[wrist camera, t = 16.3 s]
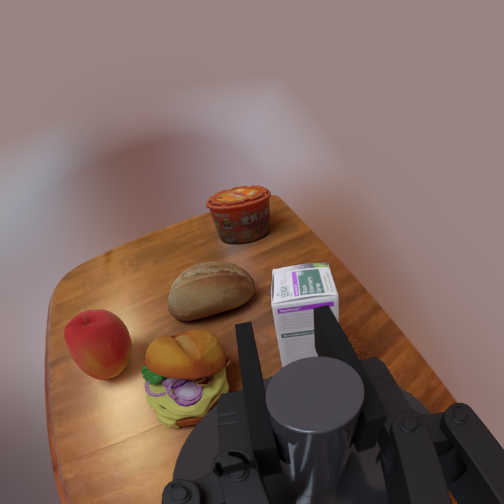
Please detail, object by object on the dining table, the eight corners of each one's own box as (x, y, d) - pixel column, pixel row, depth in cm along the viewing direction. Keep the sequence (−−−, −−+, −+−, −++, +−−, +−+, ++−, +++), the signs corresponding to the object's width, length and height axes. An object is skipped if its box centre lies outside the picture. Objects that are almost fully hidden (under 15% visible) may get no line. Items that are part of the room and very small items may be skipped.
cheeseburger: (134, 414, 30) (110, 347, 28) (184, 373, 39) (172, 311, 37) (201, 446, 25) (182, 375, 23) (247, 392, 35) (240, 324, 32)
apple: (142, 387, 34) (110, 331, 30) (84, 397, 32) (47, 346, 28) (142, 342, 43) (118, 290, 38) (91, 354, 41) (63, 305, 37)
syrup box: (338, 396, 29) (343, 293, 23) (285, 403, 30) (270, 301, 23) (331, 361, 34) (330, 259, 28) (284, 366, 35) (270, 266, 29)
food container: (201, 242, 76) (192, 202, 71) (241, 219, 86) (235, 184, 81) (249, 252, 66) (240, 206, 61) (287, 225, 76) (282, 185, 72)
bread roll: (266, 310, 46) (259, 266, 43) (175, 338, 43) (158, 296, 39) (248, 282, 54) (241, 243, 51) (170, 305, 51) (157, 267, 48)
